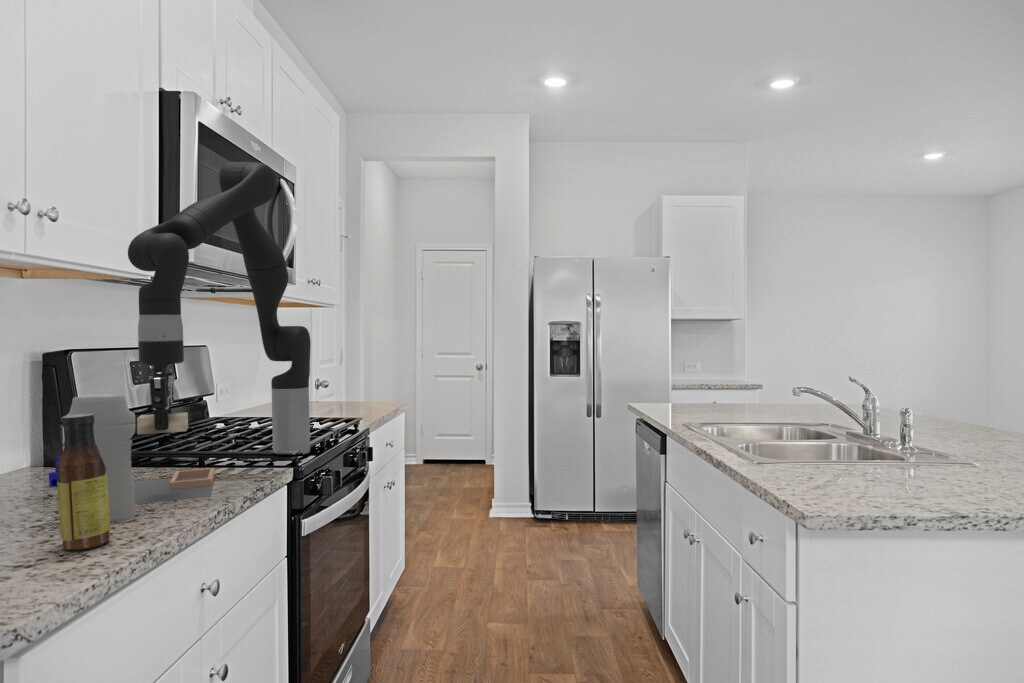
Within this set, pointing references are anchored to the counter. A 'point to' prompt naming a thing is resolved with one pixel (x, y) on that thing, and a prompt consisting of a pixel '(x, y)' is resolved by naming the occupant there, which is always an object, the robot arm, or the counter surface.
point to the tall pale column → (112, 447)
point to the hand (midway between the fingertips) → (163, 427)
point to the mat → (167, 490)
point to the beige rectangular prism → (175, 423)
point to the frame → (195, 483)
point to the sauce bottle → (82, 487)
